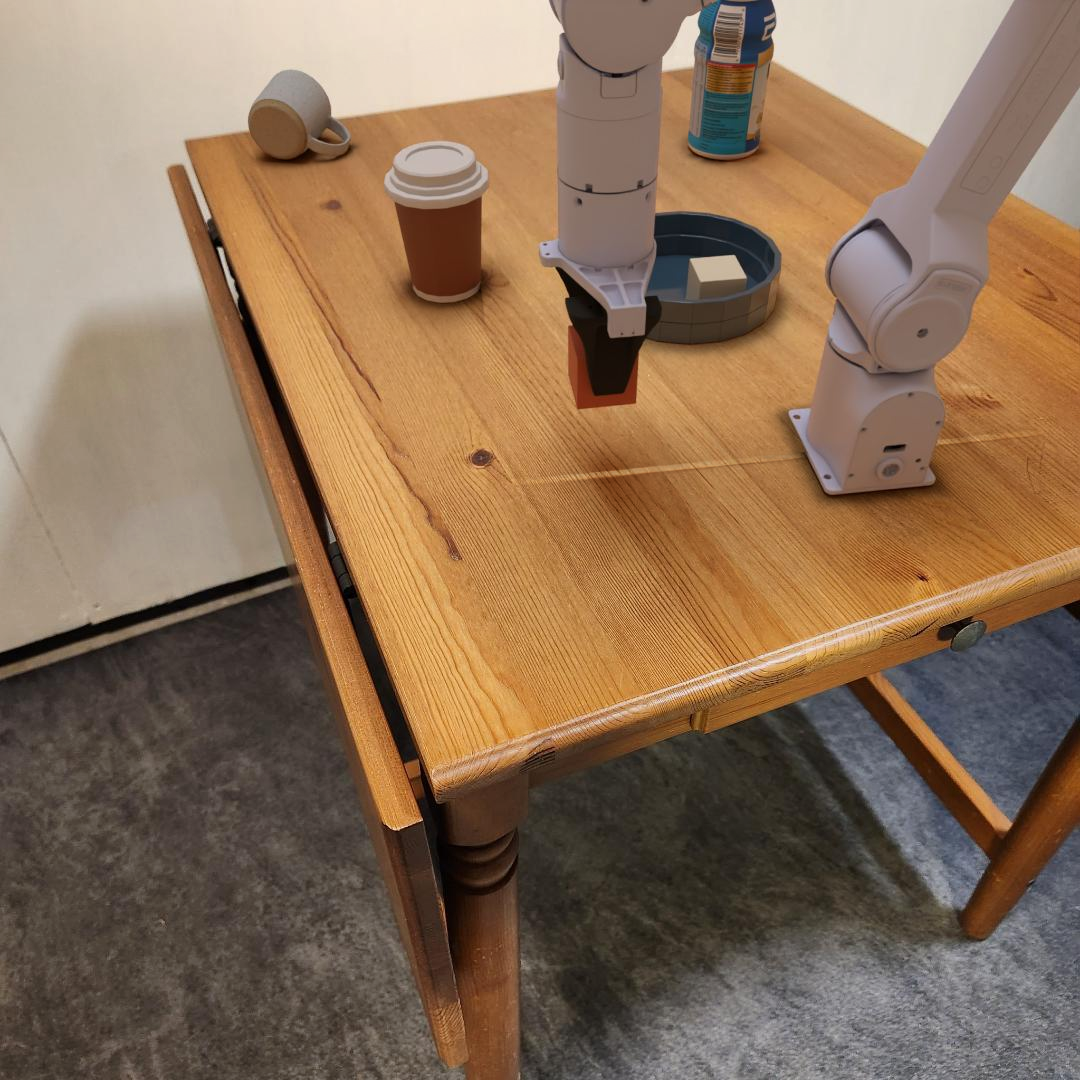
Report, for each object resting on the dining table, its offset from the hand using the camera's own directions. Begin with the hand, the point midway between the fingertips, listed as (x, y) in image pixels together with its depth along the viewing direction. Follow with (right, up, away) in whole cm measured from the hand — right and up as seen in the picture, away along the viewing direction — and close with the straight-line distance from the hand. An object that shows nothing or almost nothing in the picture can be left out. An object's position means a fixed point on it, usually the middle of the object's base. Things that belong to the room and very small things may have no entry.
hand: (602, 371), depth 63 cm
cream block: (+11, +9, +20) cm, 24 cm away
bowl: (+9, +10, +22) cm, 26 cm away
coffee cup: (-13, +12, +25) cm, 31 cm away
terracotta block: (0, -1, +1) cm, 1 cm away
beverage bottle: (+17, +34, +46) cm, 59 cm away
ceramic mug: (-32, +35, +48) cm, 67 cm away
